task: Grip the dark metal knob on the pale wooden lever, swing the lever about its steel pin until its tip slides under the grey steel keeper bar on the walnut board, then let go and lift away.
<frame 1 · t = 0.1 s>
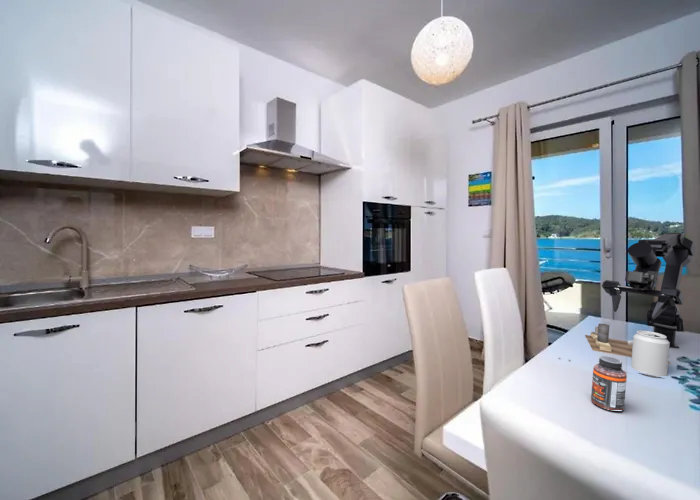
hand: (632, 314, 96), 15 cm above the table, tool tilted 30°, fingers open, 9 cm apart
can: (648, 374, 88), on the table
keeper board: (622, 350, 106), on the table
lever: (601, 332, 109), point 5 cm above the table, hinge at 0.0°
supplement bottle: (606, 406, 70), on the table
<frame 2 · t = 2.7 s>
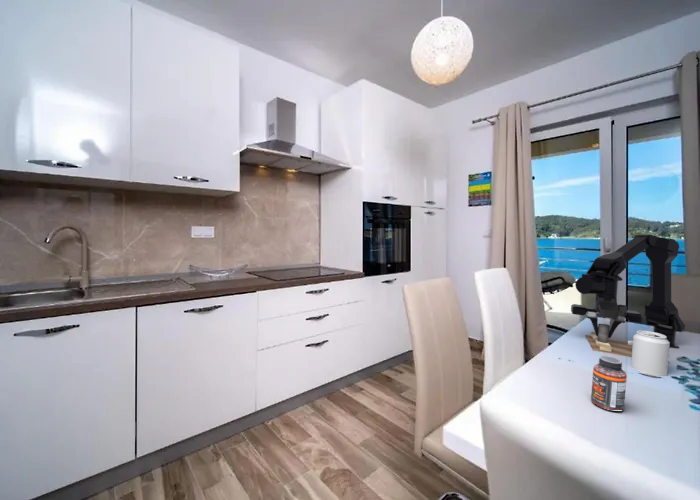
hand: (602, 336, 106), 5 cm above the table, tool pointing down, fingers closed on lever, 3 cm apart
lever: (601, 332, 109), point 5 cm above the table, hinge at 0.0°, touching gripper
everything else where it was.
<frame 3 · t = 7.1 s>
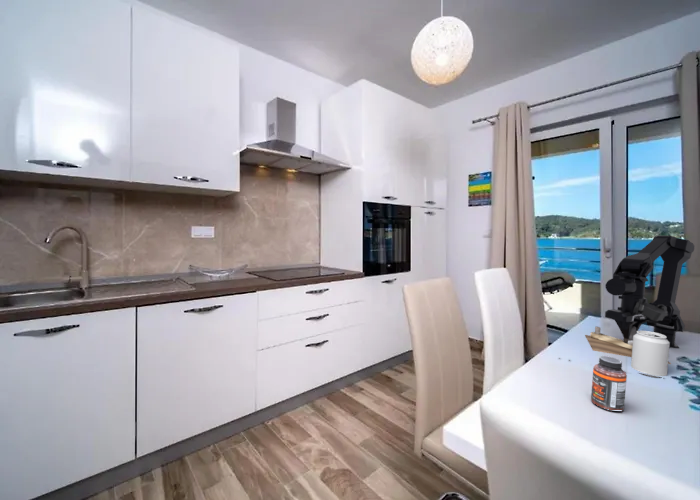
hand: (629, 338, 105), 5 cm above the table, tool pointing down, fingers closed on lever, 3 cm apart
lever: (618, 333, 108), point 5 cm above the table, hinge at 50.4°, touching gripper
everything else where it was.
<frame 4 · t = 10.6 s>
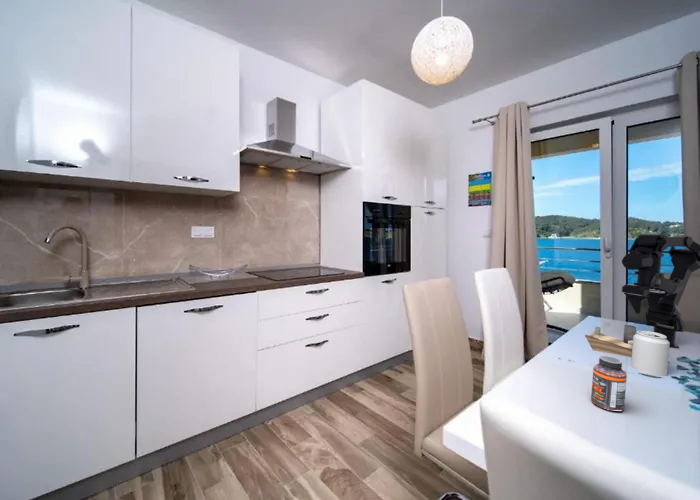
hand: (645, 312, 108), 13 cm above the table, tool pointing down, fingers open, 9 cm apart
lever: (618, 333, 108), point 5 cm above the table, hinge at 50.6°
everything else where it was.
at the end: lever at +51° (first picture: +0°); the gripper is holding nothing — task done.
